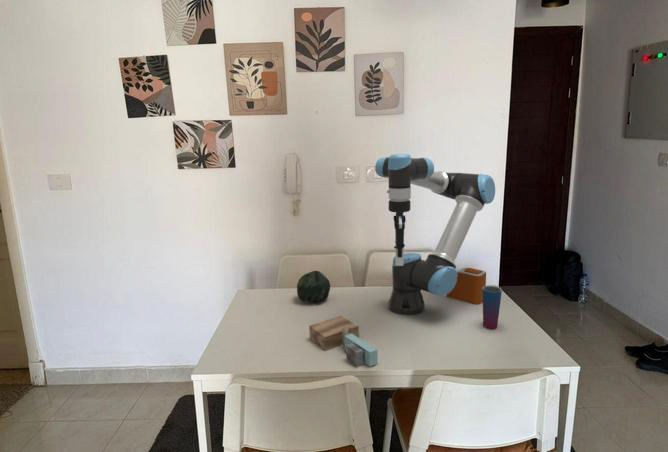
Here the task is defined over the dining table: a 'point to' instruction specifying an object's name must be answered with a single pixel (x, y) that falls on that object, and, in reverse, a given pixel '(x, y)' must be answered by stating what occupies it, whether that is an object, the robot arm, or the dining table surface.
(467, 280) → the brown toaster
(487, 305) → the cup
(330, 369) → the dining table surface
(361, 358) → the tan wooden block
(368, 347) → the teal block
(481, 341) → the dining table surface
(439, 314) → the dining table surface
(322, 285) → the squash
